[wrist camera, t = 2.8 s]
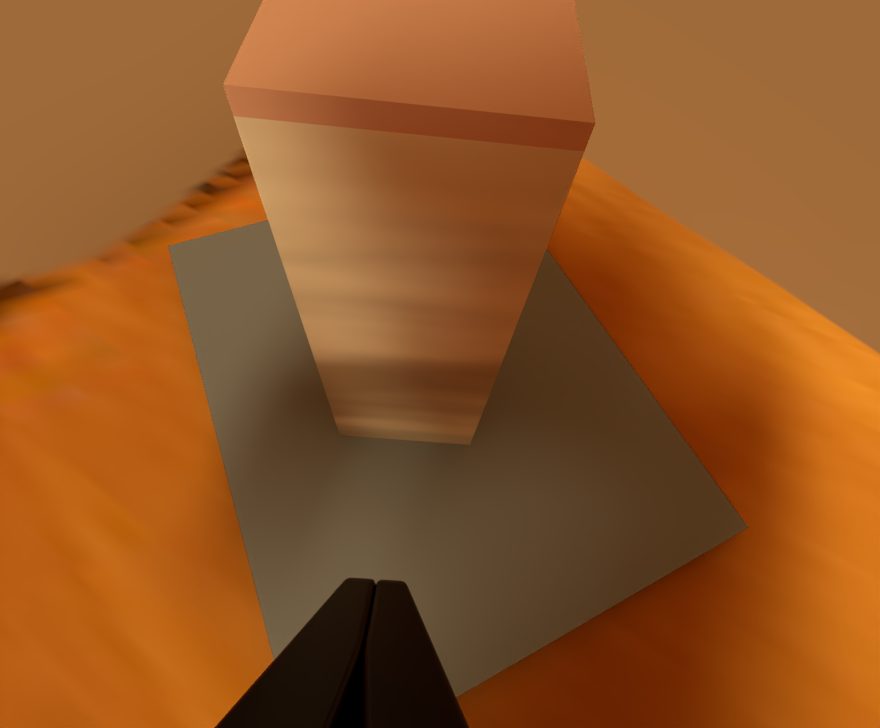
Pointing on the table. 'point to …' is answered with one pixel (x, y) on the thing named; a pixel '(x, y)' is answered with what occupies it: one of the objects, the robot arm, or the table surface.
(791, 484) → the table surface
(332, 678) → the robot arm
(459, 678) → the rubber mat
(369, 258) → the maple block
